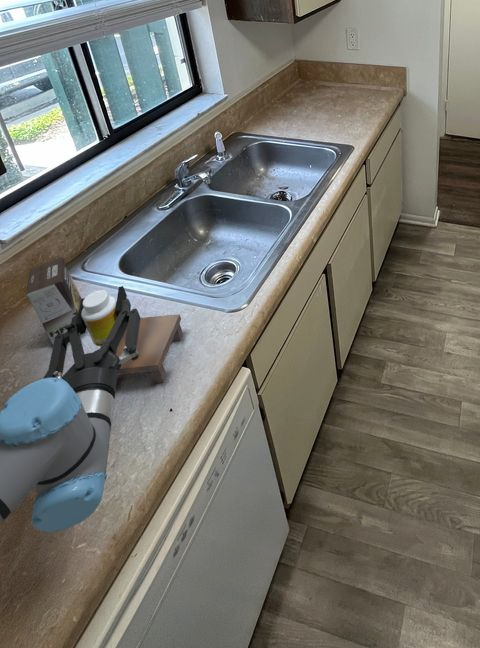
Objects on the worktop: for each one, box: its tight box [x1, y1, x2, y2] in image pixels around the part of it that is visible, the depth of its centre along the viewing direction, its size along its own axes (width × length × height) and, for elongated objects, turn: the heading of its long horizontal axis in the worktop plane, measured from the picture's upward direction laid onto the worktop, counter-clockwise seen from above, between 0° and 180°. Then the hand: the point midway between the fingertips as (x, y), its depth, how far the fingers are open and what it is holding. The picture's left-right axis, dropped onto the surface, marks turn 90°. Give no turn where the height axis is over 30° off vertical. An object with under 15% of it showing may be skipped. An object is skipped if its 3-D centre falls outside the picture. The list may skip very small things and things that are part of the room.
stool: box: [116, 313, 184, 385], centre depth 93 cm, size 12×12×6 cm
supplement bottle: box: [81, 289, 117, 348], centre depth 84 cm, size 6×6×10 cm
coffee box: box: [26, 256, 82, 346], centre depth 99 cm, size 9×6×16 cm
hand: (104, 297), depth 87 cm, fingers closed on supplement bottle, 6 cm apart
